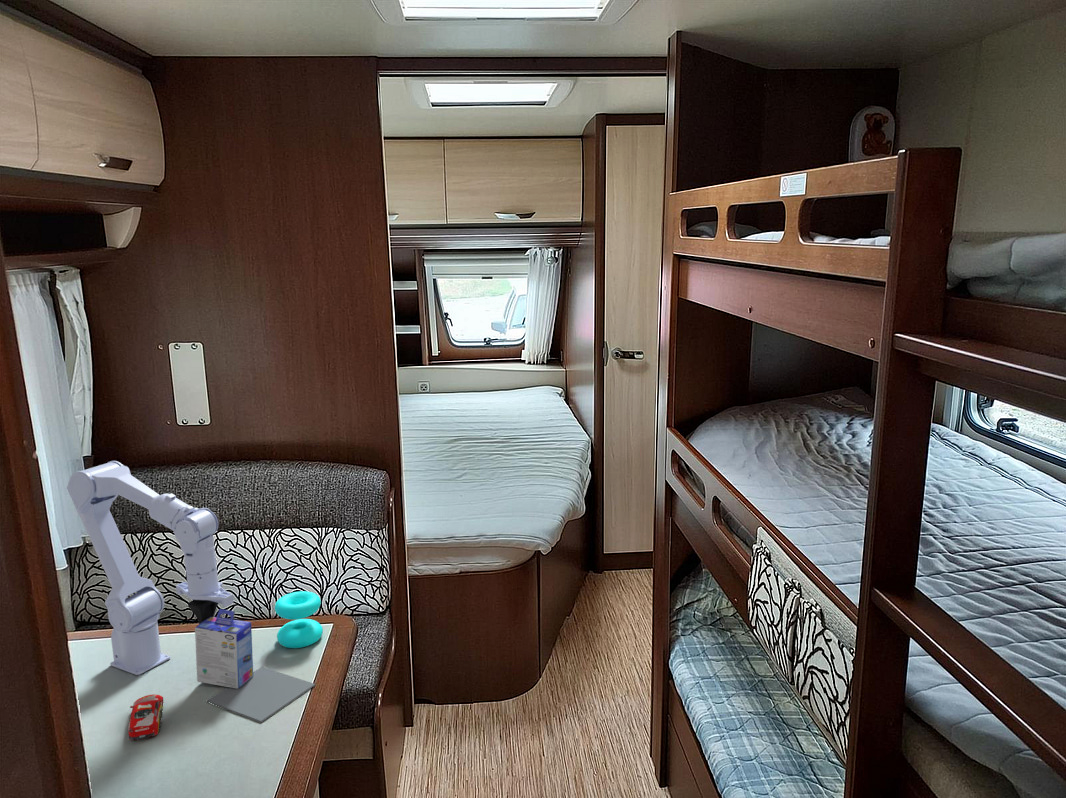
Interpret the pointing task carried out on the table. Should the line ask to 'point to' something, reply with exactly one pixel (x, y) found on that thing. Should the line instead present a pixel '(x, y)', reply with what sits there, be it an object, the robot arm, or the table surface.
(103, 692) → the table surface
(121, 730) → the table surface
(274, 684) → the mat
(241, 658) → the ink cartridge box
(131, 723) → the race car
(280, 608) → the donuts
